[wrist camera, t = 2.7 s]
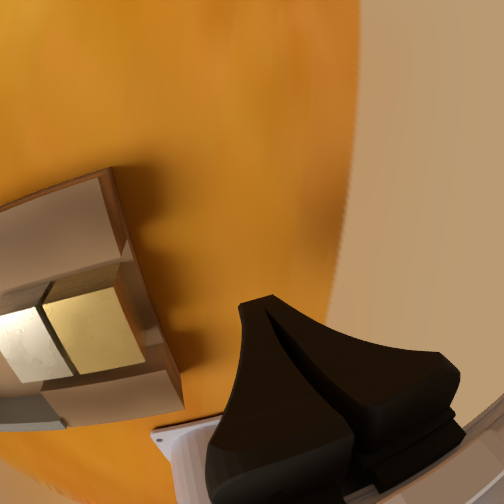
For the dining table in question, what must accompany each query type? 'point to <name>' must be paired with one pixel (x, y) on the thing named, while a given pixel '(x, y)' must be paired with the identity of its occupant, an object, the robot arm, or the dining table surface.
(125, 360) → the brass chip
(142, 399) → the slot board
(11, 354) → the silvery white square block
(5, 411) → the tray
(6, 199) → the dining table surface
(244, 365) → the robot arm
